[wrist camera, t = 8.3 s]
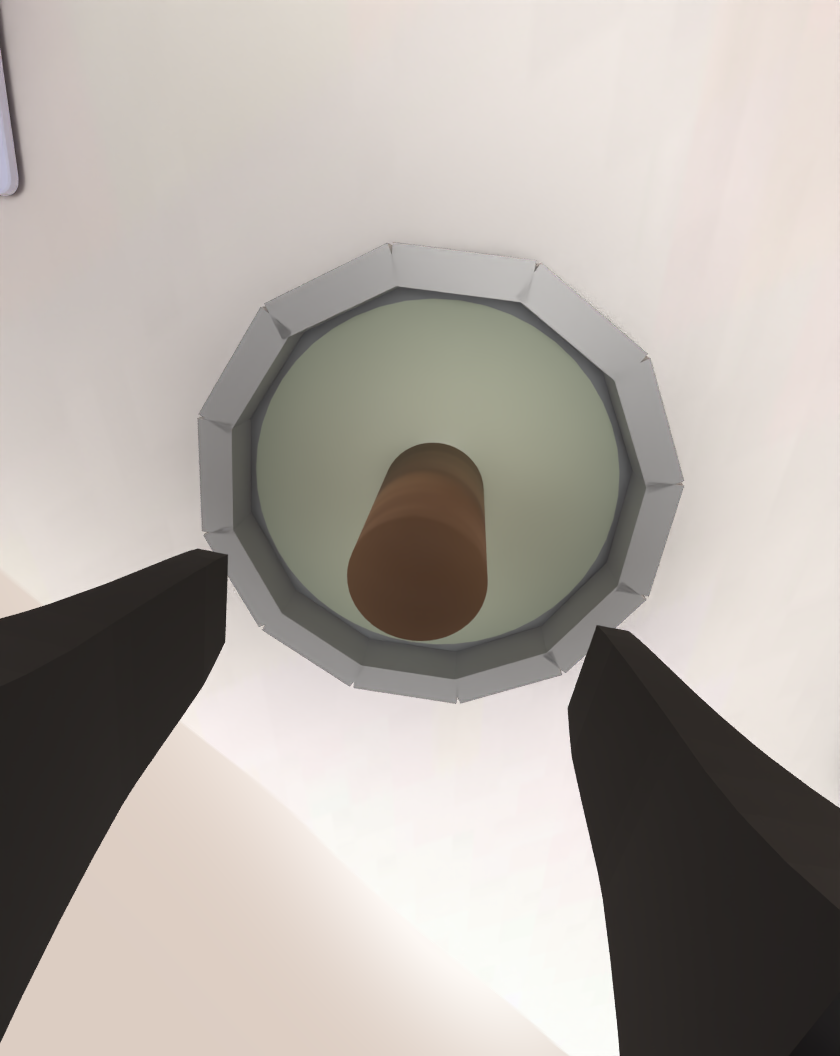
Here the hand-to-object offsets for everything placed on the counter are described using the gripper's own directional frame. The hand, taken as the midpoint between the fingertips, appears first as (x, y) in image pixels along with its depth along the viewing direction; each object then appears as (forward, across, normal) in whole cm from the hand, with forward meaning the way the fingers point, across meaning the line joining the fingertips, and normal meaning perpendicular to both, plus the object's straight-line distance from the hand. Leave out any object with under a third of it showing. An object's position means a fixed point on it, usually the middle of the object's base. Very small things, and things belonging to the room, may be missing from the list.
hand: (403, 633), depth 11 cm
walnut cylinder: (+8, 0, 0) cm, 8 cm away
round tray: (+9, 0, 0) cm, 9 cm away
